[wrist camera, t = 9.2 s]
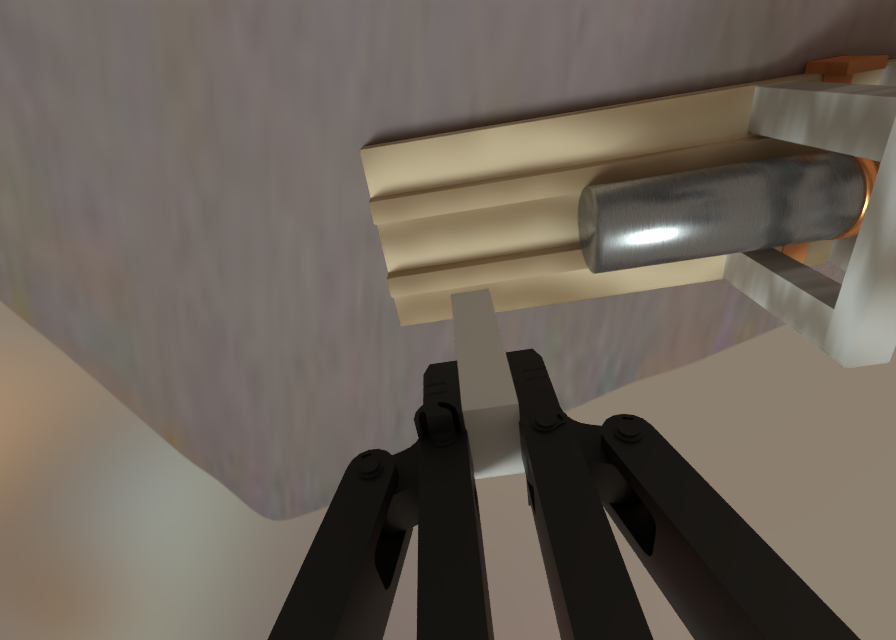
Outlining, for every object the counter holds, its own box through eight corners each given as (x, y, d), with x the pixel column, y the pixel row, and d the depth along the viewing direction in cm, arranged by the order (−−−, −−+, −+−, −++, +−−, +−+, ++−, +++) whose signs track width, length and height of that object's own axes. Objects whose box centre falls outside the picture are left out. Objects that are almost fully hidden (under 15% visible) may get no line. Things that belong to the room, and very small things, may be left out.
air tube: (577, 254, 30) (603, 289, 25) (577, 176, 27) (606, 200, 23) (892, 207, 29) (975, 235, 24) (923, 121, 26) (1023, 135, 22)
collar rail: (359, 136, 27) (317, 181, 17) (942, 39, 25) (1288, 23, 15) (401, 318, 33) (389, 432, 23) (872, 248, 32) (1083, 337, 21)
